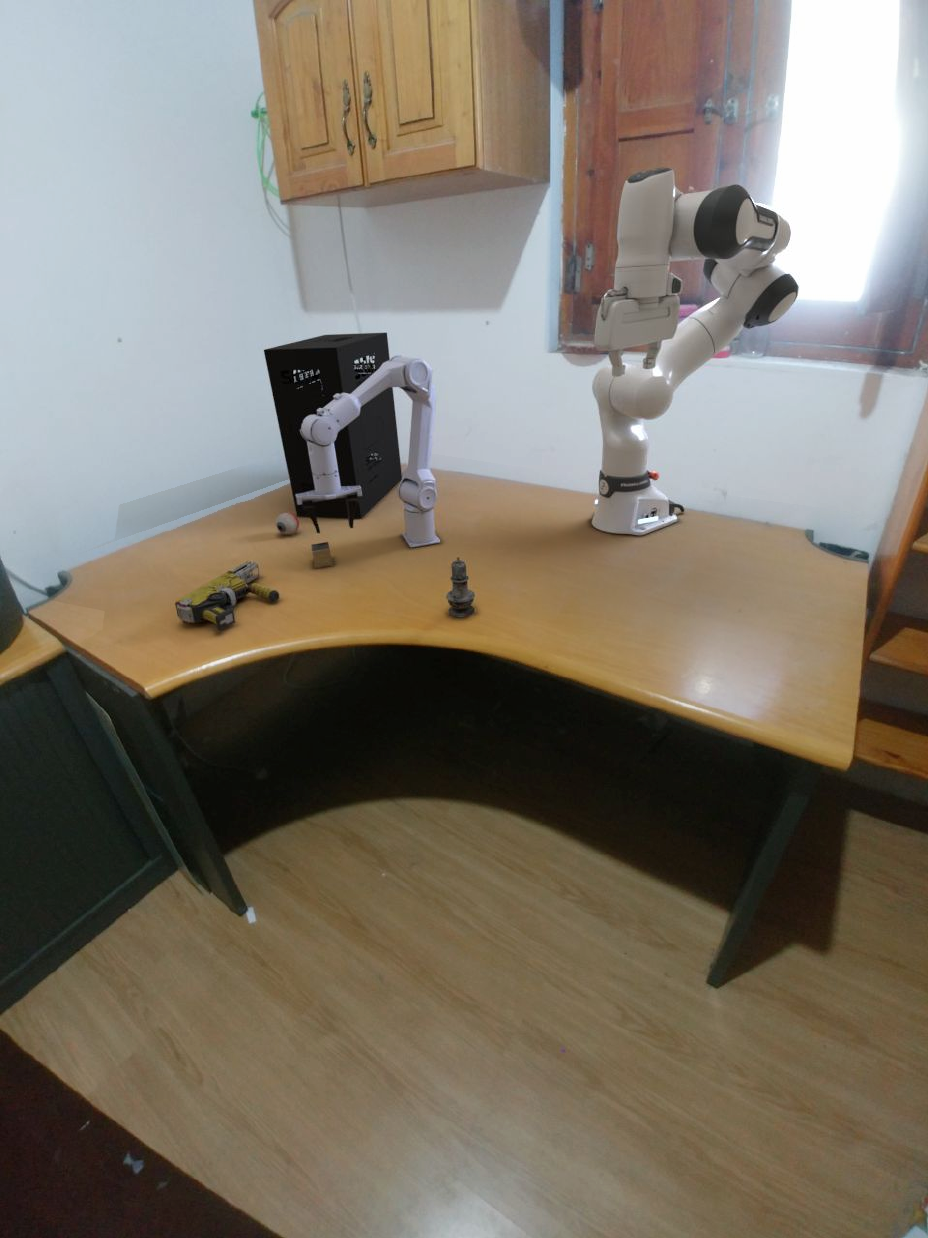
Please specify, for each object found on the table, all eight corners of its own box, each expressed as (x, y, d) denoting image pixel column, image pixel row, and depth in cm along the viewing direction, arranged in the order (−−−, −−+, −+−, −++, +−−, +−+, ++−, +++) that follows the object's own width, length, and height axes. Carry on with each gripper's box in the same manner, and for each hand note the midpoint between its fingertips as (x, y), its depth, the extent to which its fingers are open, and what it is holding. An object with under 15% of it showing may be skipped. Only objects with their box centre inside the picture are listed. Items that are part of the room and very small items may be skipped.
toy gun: (300, 570, 137) (245, 558, 141) (232, 617, 117) (169, 602, 121) (302, 588, 139) (247, 576, 143) (235, 638, 119) (173, 622, 123)
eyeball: (273, 537, 164) (268, 516, 161) (287, 528, 169) (282, 508, 166) (291, 539, 161) (286, 518, 158) (305, 530, 166) (301, 510, 163)
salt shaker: (472, 618, 120) (470, 563, 114) (444, 617, 121) (439, 562, 115) (478, 604, 125) (475, 551, 119) (450, 603, 126) (446, 550, 120)
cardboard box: (361, 518, 173) (336, 347, 150) (296, 515, 177) (263, 349, 155) (402, 478, 204) (386, 332, 182) (346, 477, 209) (325, 334, 186)
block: (315, 568, 145) (312, 551, 143) (314, 561, 149) (310, 544, 147) (332, 565, 146) (329, 548, 144) (330, 558, 150) (327, 541, 147)
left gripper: (292, 480, 129) (304, 540, 135) (360, 472, 132) (368, 530, 139) (291, 472, 134) (302, 529, 141) (355, 463, 138) (363, 520, 145)
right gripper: (619, 289, 95) (613, 382, 102) (689, 281, 106) (679, 365, 113) (587, 290, 99) (583, 379, 106) (657, 282, 111) (650, 363, 118)
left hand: (334, 529), depth 140 cm, fingers open, 7 cm apart
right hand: (633, 372), depth 110 cm, fingers open, 8 cm apart
